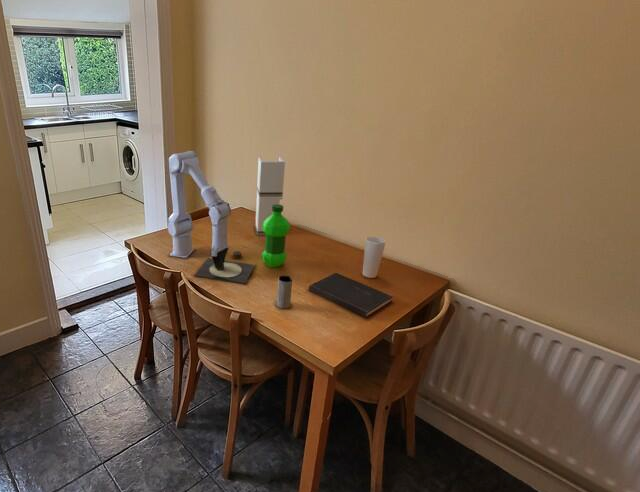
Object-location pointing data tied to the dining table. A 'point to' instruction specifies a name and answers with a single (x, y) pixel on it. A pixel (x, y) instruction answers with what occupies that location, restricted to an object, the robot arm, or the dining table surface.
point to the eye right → (237, 255)
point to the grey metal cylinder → (284, 291)
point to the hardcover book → (351, 294)
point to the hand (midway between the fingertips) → (219, 265)
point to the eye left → (221, 267)
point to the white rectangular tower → (268, 190)
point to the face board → (226, 271)
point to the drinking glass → (372, 256)
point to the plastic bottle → (275, 237)
